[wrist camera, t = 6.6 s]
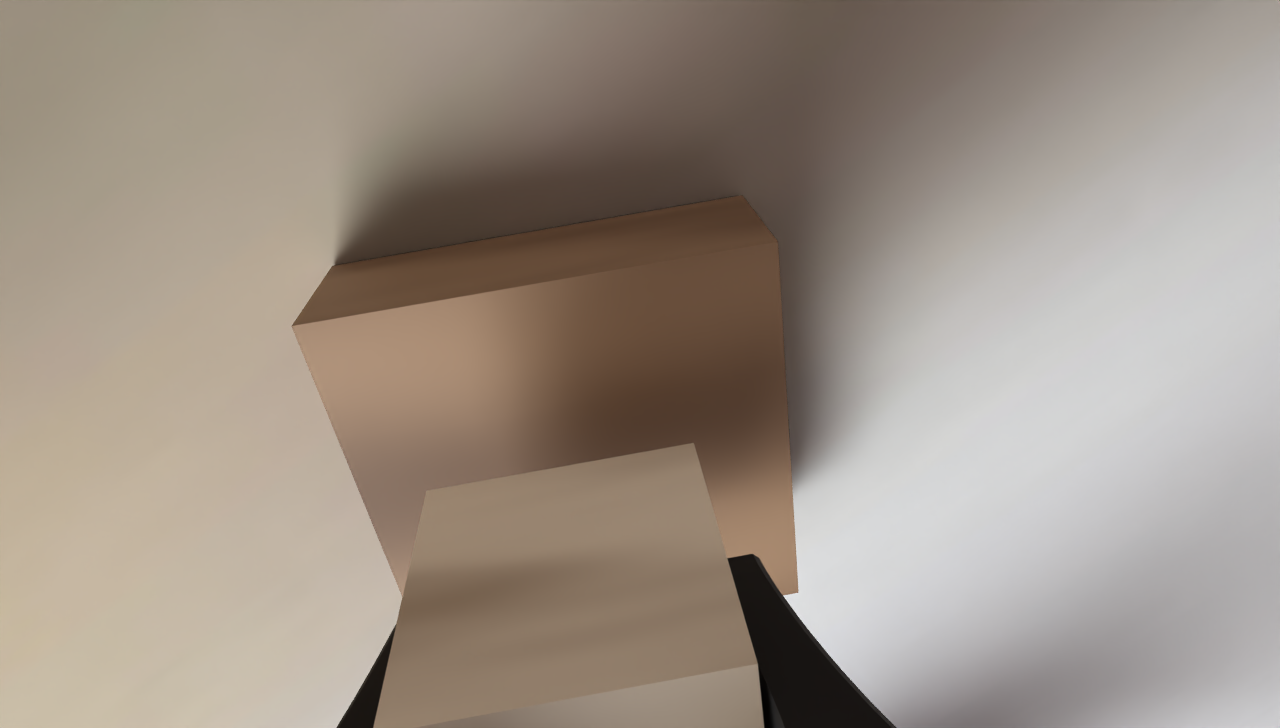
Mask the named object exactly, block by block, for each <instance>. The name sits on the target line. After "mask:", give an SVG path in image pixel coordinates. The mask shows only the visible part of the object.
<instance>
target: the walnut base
mask: <svg viewBox="0 0 1280 728" xmlns="http://www.w3.org/2000/svg"><path fill="white" fill-rule="evenodd" d="M292 328H293V331H294V333H295V336H296V338H297V341H298V343H299V345H300V348H301V350H302V353H303V355H304V358H305V360H306V363H307V365H308V367H309V370H310V372H311V375H312V377H313V380H314V382H315V385H316V387H317V389H318V392H319V394H320V397H321V399H322V402H323V404H324V407H325V409H326V411H327V414H328V416H329V419H330V421H331V424H332V426H333V428H334V431H335V433H336V436H337V438H338V441H339V443H340V446H341V448H342V450H343V453H344V455H345V458H346V460H347V463H348V465H349V468H350V470H351V472H352V475H353V477H354V480H355V482H356V485H357V487H358V490H359V492H360V494H361V497H362V499H363V502H364V504H365V507H366V509H367V512H368V514H369V516H370V519H371V521H372V524H373V526H374V529H375V531H376V533H377V536H378V538H379V541H380V543H381V546H382V548H383V551H384V553H385V555H386V558H387V560H388V563H389V565H390V568H391V570H392V573H393V575H394V577H395V580H396V582H397V585H398V587H399V590H400V592H401V595H402V597H403V593H404V589H405V584H406V580H407V575H408V571H409V566H410V562H411V557H412V553H413V549H414V544H415V540H416V535H417V531H418V526H419V522H420V517H421V513H422V508H423V504H424V500H425V495H426V491H429V490H434V489H440V488H445V487H451V486H456V485H462V484H468V483H473V482H479V481H484V480H490V479H495V478H501V477H507V476H512V475H518V474H523V473H529V472H534V471H540V470H546V469H551V468H557V467H562V466H568V465H574V464H579V463H585V462H590V461H596V460H601V459H607V458H613V457H618V456H624V455H629V454H635V453H640V452H646V451H652V450H657V449H663V448H668V447H674V446H679V445H685V444H691V443H694V445H695V449H696V452H697V456H698V459H699V462H700V466H701V469H702V473H703V476H704V480H705V483H706V487H707V490H708V494H709V497H710V500H711V504H712V507H713V511H714V514H715V518H716V521H717V525H718V528H719V532H720V535H721V538H722V542H723V545H724V549H725V552H726V556H727V558H731V557H737V556H742V555H748V554H754V555H755V556H757V557H759V558H760V560H761V562H762V564H763V565H764V567H765V569H766V570H767V572H768V574H769V575H770V577H771V579H772V580H773V582H774V583H775V585H776V586H777V588H778V589H779V591H780V592H781V594H782V595H787V594H793V593H798V578H797V561H796V544H795V526H794V509H793V492H792V475H791V458H790V441H789V423H788V406H787V389H786V372H785V355H784V338H783V320H782V303H781V286H780V269H779V252H778V241H777V240H776V238H775V237H774V236H773V235H772V233H771V232H770V231H769V229H768V228H767V227H766V225H765V224H764V223H763V222H762V220H761V219H760V218H759V216H758V215H757V214H756V212H755V211H754V210H753V209H752V207H751V206H750V205H749V203H748V202H747V201H746V199H745V198H744V197H743V196H742V195H740V196H735V197H729V198H723V199H717V200H711V201H706V202H700V203H694V204H688V205H682V206H677V207H671V208H665V209H659V210H654V211H648V212H642V213H636V214H630V215H625V216H619V217H613V218H607V219H601V220H596V221H590V222H584V223H578V224H572V225H567V226H561V227H555V228H549V229H543V230H538V231H532V232H526V233H520V234H514V235H509V236H503V237H497V238H491V239H486V240H480V241H474V242H468V243H462V244H457V245H451V246H445V247H439V248H433V249H428V250H422V251H416V252H410V253H404V254H399V255H393V256H387V257H381V258H375V259H370V260H364V261H358V262H352V263H346V264H341V265H335V266H332V267H331V269H330V270H329V272H328V273H327V275H326V276H325V278H324V279H323V281H322V282H321V284H320V285H319V287H318V288H317V289H316V291H315V292H314V294H313V295H312V297H311V298H310V300H309V301H308V303H307V304H306V306H305V307H304V309H303V310H302V312H301V313H300V315H299V316H298V318H297V319H296V320H295V322H294V323H293V325H292Z"/></svg>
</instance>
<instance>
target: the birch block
mask: <svg viewBox="0 0 1280 728" xmlns="http://www.w3.org/2000/svg"><path fill="white" fill-rule="evenodd" d="M373 728H764V721H763V711H762V701H761V691H760V681H759V671H758V663H757V659H756V656H755V652H754V649H753V646H752V642H751V639H750V635H749V632H748V628H747V625H746V621H745V618H744V614H743V611H742V608H741V604H740V601H739V597H738V594H737V590H736V587H735V583H734V580H733V576H732V573H731V570H730V566H729V563H728V559H727V556H726V552H725V549H724V545H723V542H722V538H721V535H720V532H719V528H718V525H717V521H716V518H715V514H714V511H713V507H712V504H711V500H710V497H709V494H708V490H707V487H706V483H705V480H704V476H703V473H702V469H701V466H700V462H699V459H698V456H697V452H696V449H695V445H694V443H691V444H685V445H679V446H674V447H668V448H663V449H657V450H652V451H646V452H640V453H635V454H629V455H624V456H618V457H613V458H607V459H601V460H596V461H590V462H585V463H579V464H574V465H568V466H562V467H557V468H551V469H546V470H540V471H534V472H529V473H523V474H518V475H512V476H507V477H501V478H495V479H490V480H484V481H479V482H473V483H468V484H462V485H456V486H451V487H445V488H440V489H434V490H429V491H426V495H425V500H424V504H423V508H422V513H421V517H420V522H419V526H418V531H417V535H416V540H415V544H414V549H413V553H412V557H411V562H410V566H409V571H408V575H407V580H406V584H405V589H404V593H403V598H402V602H401V606H400V611H399V615H398V620H397V624H396V629H395V633H394V638H393V642H392V647H391V651H390V655H389V660H388V664H387V669H386V673H385V678H384V682H383V687H382V691H381V696H380V700H379V704H378V709H377V713H376V718H375V722H374V727H373Z"/></svg>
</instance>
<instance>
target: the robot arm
mask: <svg viewBox="0 0 1280 728" xmlns="http://www.w3.org/2000/svg"><path fill="white" fill-rule="evenodd" d="M727 559H728V563H729V566H730V570H731V573H732V576H733V580H734V583H735V587H736V590H737V594H738V597H739V601H740V604H741V608H742V611H743V614H744V618H745V621H746V625H747V628H748V632H749V635H750V639H751V642H752V646H753V649H754V652H755V656H756V659H757V663H758V671H759V681H760V691H761V701H762V711H763V721H764V728H896V727H895V726H894V725H893V724H892V723H891V722H890V721H889V720H888V719H887V718H886V717H885V716H884V715H883V714H882V713H881V712H880V711H879V710H878V709H877V708H876V707H875V706H874V705H873V704H872V703H871V701H870V700H869V699H868V698H867V697H866V696H865V695H864V694H863V693H862V692H861V691H860V690H859V689H858V687H857V686H856V685H855V684H854V683H853V682H852V681H851V680H850V679H849V678H848V677H847V675H846V674H845V673H844V672H843V671H842V670H841V669H840V667H839V666H838V665H837V664H836V663H835V662H834V661H833V659H832V658H831V657H830V656H829V655H828V653H827V652H826V651H825V650H824V648H823V647H822V646H821V645H820V644H819V642H818V641H817V640H816V639H815V637H814V636H813V635H812V634H811V633H810V631H809V630H808V629H807V628H806V626H805V625H804V624H803V622H802V621H801V620H800V619H799V617H798V616H797V615H796V613H795V612H794V610H793V609H792V608H791V606H790V605H789V604H788V602H787V601H786V599H785V598H784V597H783V595H782V594H781V592H780V591H779V589H778V588H777V586H776V585H775V583H774V582H773V580H772V579H771V577H770V575H769V574H768V572H767V570H766V569H765V567H764V565H763V564H762V562H761V560H760V558H759V557H757V556H755V555H754V554H748V555H742V556H737V557H731V558H727ZM395 629H396V625H395V627H394V629H393V631H392V633H391V634H390V636H389V638H388V640H387V642H386V643H385V645H384V647H383V649H382V651H381V652H380V654H379V656H378V658H377V660H376V661H375V663H374V665H373V667H372V669H371V670H370V672H369V674H368V676H367V677H366V679H365V681H364V683H363V684H362V686H361V688H360V689H359V691H358V693H357V695H356V696H355V698H354V700H353V701H352V703H351V705H350V706H349V708H348V710H347V711H346V713H345V715H344V716H343V718H342V720H341V721H340V723H339V724H338V726H337V728H373V727H374V722H375V718H376V713H377V709H378V704H379V700H380V696H381V691H382V687H383V682H384V678H385V673H386V669H387V664H388V660H389V655H390V651H391V647H392V642H393V638H394V633H395Z"/></svg>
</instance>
